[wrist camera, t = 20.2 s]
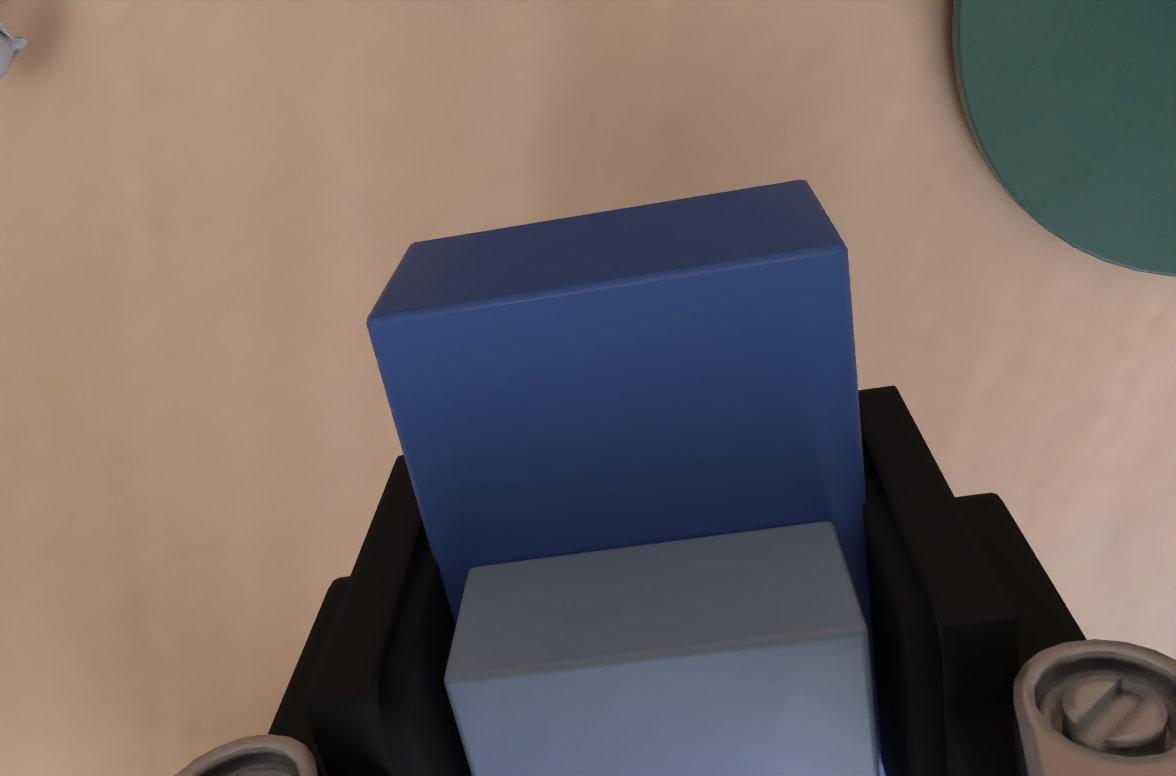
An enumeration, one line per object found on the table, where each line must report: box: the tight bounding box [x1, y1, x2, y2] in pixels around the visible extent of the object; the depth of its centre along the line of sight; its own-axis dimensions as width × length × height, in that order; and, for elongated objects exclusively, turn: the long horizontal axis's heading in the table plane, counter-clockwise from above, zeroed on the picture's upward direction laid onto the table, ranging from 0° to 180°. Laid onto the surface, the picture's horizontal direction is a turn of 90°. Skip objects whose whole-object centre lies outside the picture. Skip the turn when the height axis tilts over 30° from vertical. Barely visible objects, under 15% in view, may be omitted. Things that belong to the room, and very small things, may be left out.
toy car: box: [366, 180, 886, 776], centre depth 10 cm, size 8×4×4 cm, turn 10°
